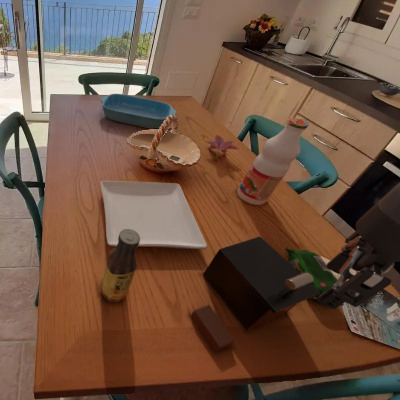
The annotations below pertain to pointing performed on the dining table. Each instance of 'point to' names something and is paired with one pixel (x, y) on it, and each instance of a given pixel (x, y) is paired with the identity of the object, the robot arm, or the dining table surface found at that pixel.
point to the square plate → (150, 214)
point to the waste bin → (238, 294)
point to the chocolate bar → (212, 328)
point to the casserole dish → (136, 110)
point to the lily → (221, 144)
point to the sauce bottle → (120, 266)
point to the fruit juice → (272, 163)
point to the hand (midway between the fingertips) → (328, 285)
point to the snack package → (312, 268)
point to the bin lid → (269, 274)
